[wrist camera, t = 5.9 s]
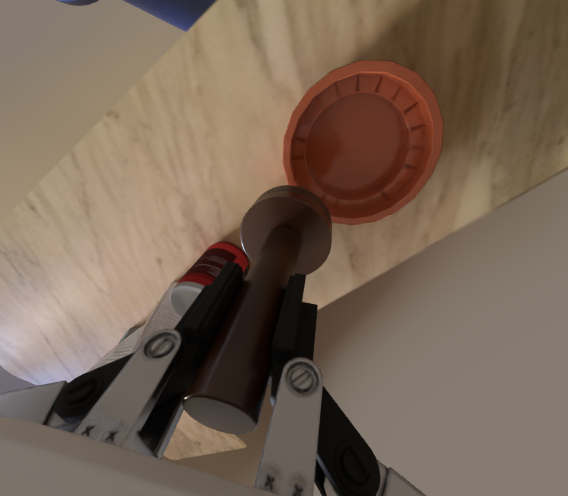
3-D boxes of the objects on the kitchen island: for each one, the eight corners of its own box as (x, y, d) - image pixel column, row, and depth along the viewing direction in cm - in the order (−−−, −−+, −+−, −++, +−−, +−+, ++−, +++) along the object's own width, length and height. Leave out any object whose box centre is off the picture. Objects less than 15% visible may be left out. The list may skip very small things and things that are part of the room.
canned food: (228, 283, 42) (198, 333, 32) (198, 251, 39) (157, 296, 30) (259, 269, 38) (236, 320, 29) (229, 233, 36) (193, 276, 26)
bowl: (287, 201, 31) (280, 216, 27) (295, 66, 23) (286, 58, 19) (398, 214, 29) (409, 232, 25) (448, 70, 21) (476, 62, 17)
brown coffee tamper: (251, 253, 20) (150, 431, 9) (250, 180, 16) (79, 327, 5) (324, 265, 19) (310, 477, 8) (339, 190, 15) (351, 389, 5)
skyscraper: (197, 273, 42) (25, 483, 18) (215, 302, 45) (87, 510, 22) (165, 278, 44) (-24, 468, 21) (183, 305, 48) (39, 495, 24)
